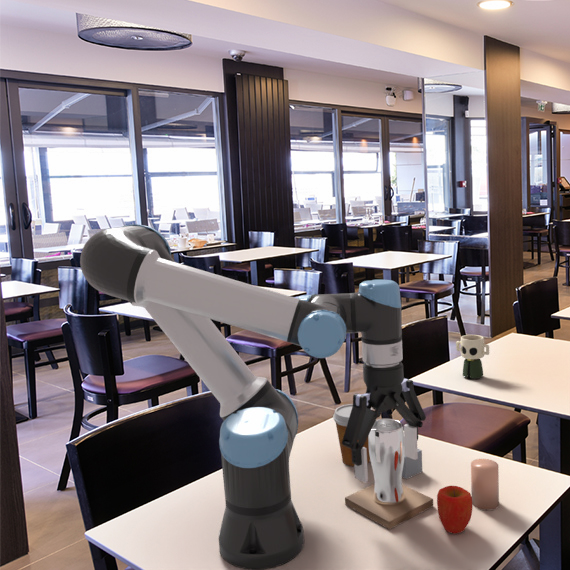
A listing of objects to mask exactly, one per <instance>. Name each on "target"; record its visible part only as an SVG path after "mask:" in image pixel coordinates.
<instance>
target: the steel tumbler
mask: <svg viewBox="0 0 570 570" xmlns="http://www.w3.org/2000/svg"><path fill="white" fill-rule="evenodd" d="M368 448H369V456H370V465H371V469H372V473H373V474H372V475H373V479H374V484H375V485H374V493H373V499H374V500H375V501H376V502H377V503H379V504H381V505H387V506H392V505H398V504H400V503H402V502H403V501H404V499H405V496H404V491H403V487H402V485H403V477H402V472H403V465H404V457H405V440H404V424H403V422H401V421H400V420H398V419H394V418H379V419H378V418H377V419H376V421H375V423H374V425H373V427H372V429H371V431H370V433H369V435H368Z"/></svg>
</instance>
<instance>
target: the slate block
mask: <svg viewBox="0 0 570 570" xmlns="http://www.w3.org/2000/svg"><path fill="white" fill-rule="evenodd" d="M417 453H418V459H416V460H414V459H411V458H409V457H407V456H405V457H404V465H403V472H402V478H403V477H404V478H403V479H405V478H406V479H405V480H407V478H408V479H410V478H412V477H414V475H415V476H417V475H419V474H421V473H422V472H423V450H421V449H420V448H417ZM420 472H421V473H420ZM418 473H419V474H418ZM416 474H417V475H416ZM411 476H412V477H411ZM409 477H410V478H409Z"/></svg>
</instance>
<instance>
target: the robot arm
mask: <svg viewBox="0 0 570 570" xmlns="http://www.w3.org/2000/svg"><path fill="white" fill-rule="evenodd" d="M79 260H80V261H79V264H80V269H81V271H82V275H83V277H84V278H85V280H86V281H87V283H88V284H89V285H90V286H91V287H93V288H94V289H95V290H96V291H99V292H101V293H103V294H105V295H108V296H111V297H115V298H118V299H121V300H125V301H128V302H129V303H130V304H131V305H132V306H133V307H141V308H144V310H145V311H147V313H148V314H149V315H150V316H151V318H152V319H153V320H154V322H155V323H156V324H157V326H158V327H159V328H160V330H162V333H164V334H165V335H166V337H167V338H168V339H169V341H170V342H171V343H172V345H174V347H175V348H176V349H177V351H178V352H179V354H180V355H181V356H182V357H183V358H184V359H185V361H186V362H187V364H189V366H190V368H192V370H193V371H194V373H195V374H196V375H197V376H198V377H199V379H200V380H201V382H203V383H204V385H205V386H206V388H207V389H208V390H209V392H210V393H211V394H212V395H213V397H215V399H216V400H217V402H218V403H220V404H219V405H220V408H219V417H220V419H222V420H223V421H222V423H221V425H220V429H219V440H218V443H219V450H220V454H221V458H220V459H221V467H222V477H223V479H222V480H223V489H224V491H223V493H224V498H225V499H224V501H225V508H224V513H223V516H222V521H221V526H220V530H219V533H218V547H219V552H220V555H221V557H222V558H223V559H224V561H226V562H227V563H229V564H231V565H233V566H235V567H239V568H242V569H248V570H249V569H250V570H262V569H269V568H274V567H275V568H276V567H278V566H281V565H283V564H285V563H287V562H289V561H292V560H293V559H294V558H295V557H296V556H297V555H299V553H300V552H301V551H302V549H303V547H304V544H305V542H304V541H305V537H304V528H303V524H302V522H301V519H300V516H299V515H298V513H297V510H296V508H295V506H294V503H293V501H292V492H291V478H290V477H291V475H290V458H291V457H290V456H291V452H292V449H293V446H294V442H295V439H296V437H297V434H298V428H299V415H298V410H297V407H296V404H295V402H294V401H293V400H292V398H291V397H290V396H289V395H288V394H287V393H286V392H284V391H282V390H280V389H276V388H275V387H274V386H273V385H272V383H271V381H269V380H268V379H267V378H266V377H264V376H263V377H262V376H256V375H255V374H254V373H253V372H252V370H251V369H250V368H249V367H248V365H247V364H246V363H245V361H244V360H243V359H242V357H240V355H239V354H238V352H236V350H235V349H234V348H233V346H232V345H231V344H230V342H229V341H228V340H227V339H226V337H225V336H224V334H223V333H221V330H219V328H218V327H217V326H216V324H215V323H214V322H213V321H216V322H220V323H222V324H223V323H224V324H227V325H229V326H233V327H235V328H239V329H241V330H242V329H243V330H246V331H250V332H252V333H256V334H259V335H263V336H266V337H270V338H272V339H273V338H274V339H276V340H279V341H282V342H287V343H289V344H293V345H296V346H299V347H300V348H302V350H303V351H304V352H305V353H306V354H308V355H309V356H311V357H313V358H317V359H326V358H329V357H331V356H333V355H335V354H336V353H337V352H339V350H341V349H342V347H343V344H344V342H345V340H346V338H347V334H357V333H361V353H362V354H361V355H362V356H361V357H362V361H363V365H362V373H363V375H362V376H363V377H362V378H363V382H364V384H365V386H366V391H365V393H362V394H360V393H357V392H356V393H354V394H353V396H352V404H353V407H352V410H351V413H350V417H349V420H348V424H347V427H346V430H345V434H344V437H343V440H342V445H343V446H345V447H348V448H350V449H351V451H352V463H353V464H354V465H355V466H354V478H355V479H357V480H359V481H361V482H362V483H368V482H369V473H368V470H369V469H368V464H367V449H366V448H365V447H363V446H364V444H365V442H366V440H367V438H368V435H369V433H370V431H371V429H372V427H373V425H374V423H375V421H376V420H377V419H378V418H380V416H381V415H382V413H385V412H387V411H389V410H393V409H395V411H397V413H398V415H400V416H401V417H402V419H404V421H405V422H406V423H405V424H403V432H404V440H405V456H407V457H409V458H411V459H414V460H416V459H418V453H417V449H418V441H419V429H420V428H423V426H424V425H423V424H424V422H425V420H426V418H427V415H426V414H425V412H424V410H423V407H422V404H421V403H420V401H419V398H418V396H417V394H416V391H415V388H414V387H415V386H414V381H413V380H411V379H409V378H405V377H404V375H405V374H404V364H403V363H402V361H403V331H402V330H403V329H402V328H403V324H402V301H401V291H400V288H401V287H400V285H399V284H398V283H397V282H396V281H394V280H391V279H372V280H364V281H362V282H361V283H359V286H358V287H359V288H358V292H351V293H324V294H321V293H320V294H319V293H318V294H317V293H312V294H306V295H300V296H298V297H295V296H292V295H291V296H290V295H287V294H284V293H281V292H277V291H273V290H270V289H267V288H263V287H260V286H257V285H253V284H250V283H246V282H243V281H239V280H235V279H233V278H229V277H226V276H223V275H219V274H215V273H213V272H209V271H205V270H203V269H199V268H195V267H192V266H189V265H186V264H183V263H179V262H176V261H175V259H173V257H172V249H171V247H170V245H169V242H168V241H167V239H166V237H164V235H163V234H162V233H161V232H160V231H159V230H157V229H155V228H153V227H151V226H148V225H143V224H136V223H133V224H127V225H124V226H120V227H114V228H112V227H111V228H107V229H104V230H100V231H98V232H95V233H94V234H93V235H91V236H90V237H89V238H88V240H87V241H86V242H85V244H84V245H83V247H82V250H81V254H80V259H79ZM212 320H213V321H212ZM401 394H402V396H403V398H404V399H403V398H402V397H401ZM406 404H407V405H406ZM371 408H372V409H373V410H371ZM357 440H359V441H358V442H357Z"/></svg>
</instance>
